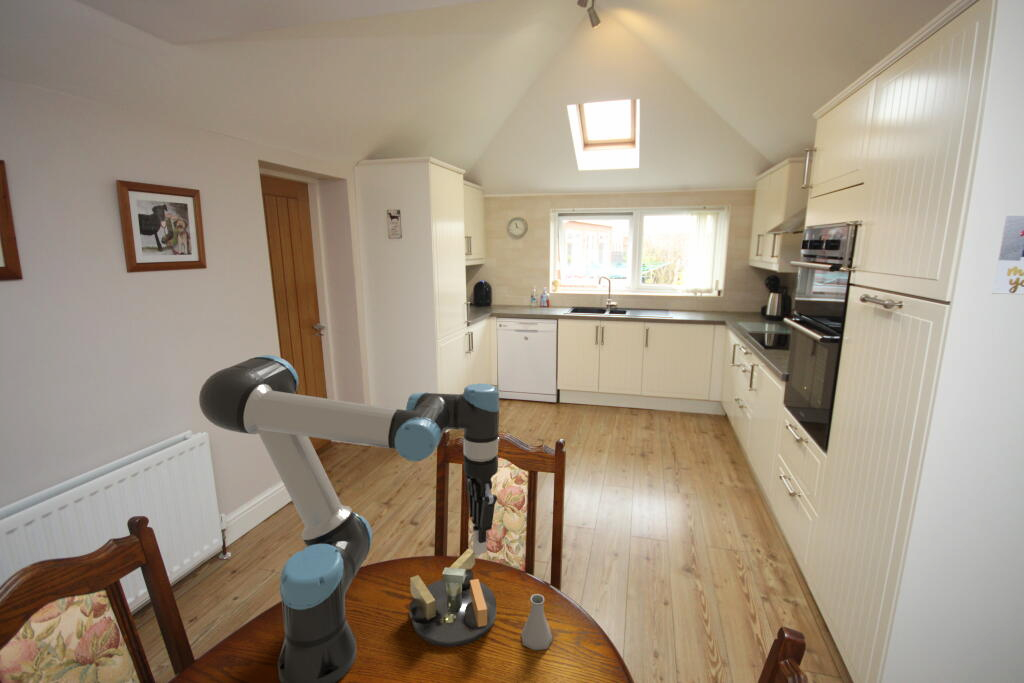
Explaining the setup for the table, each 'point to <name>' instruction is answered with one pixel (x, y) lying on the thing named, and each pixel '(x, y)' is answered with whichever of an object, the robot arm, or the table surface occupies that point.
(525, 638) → the flask
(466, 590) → the round disc fixture
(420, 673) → the table surface
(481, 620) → the orange rectangular block
